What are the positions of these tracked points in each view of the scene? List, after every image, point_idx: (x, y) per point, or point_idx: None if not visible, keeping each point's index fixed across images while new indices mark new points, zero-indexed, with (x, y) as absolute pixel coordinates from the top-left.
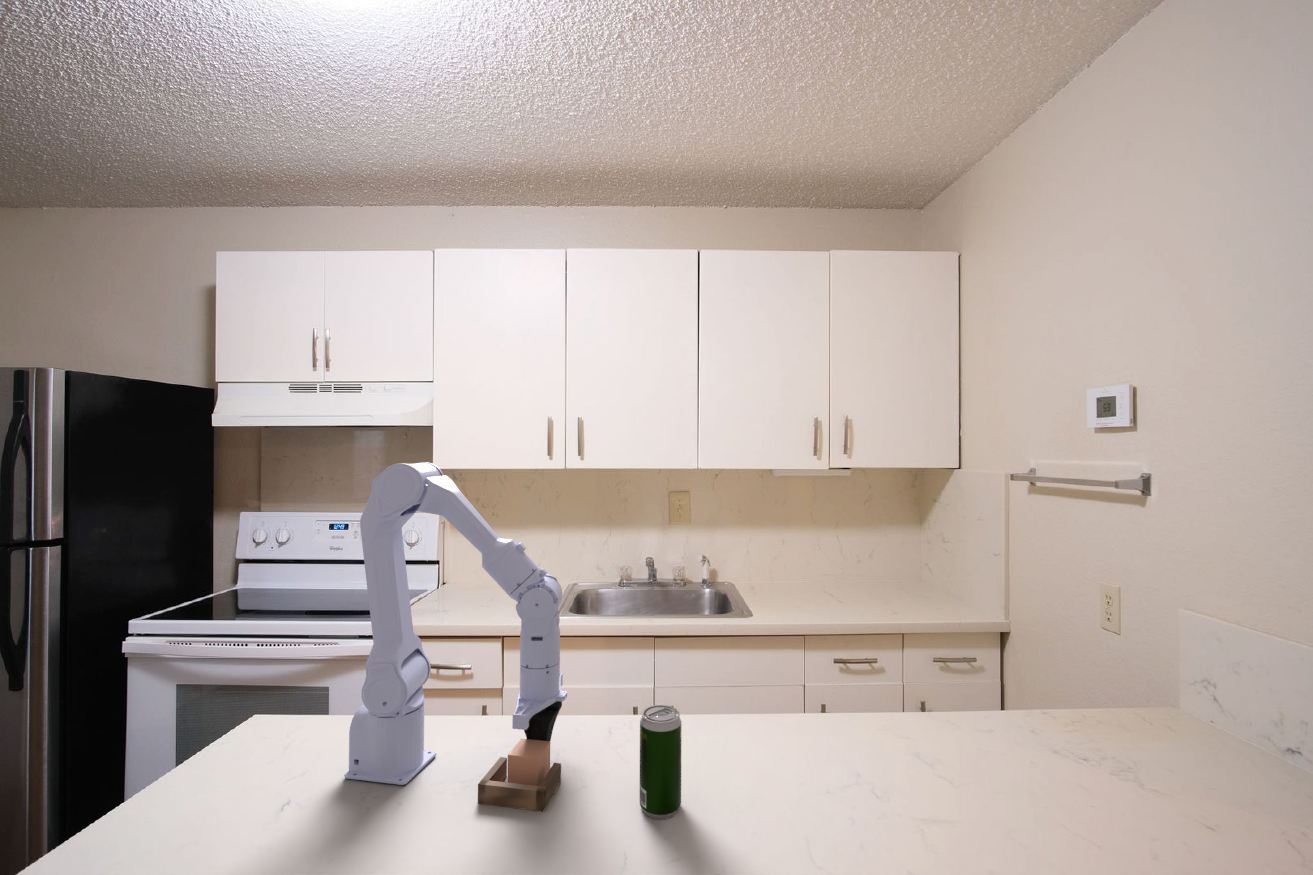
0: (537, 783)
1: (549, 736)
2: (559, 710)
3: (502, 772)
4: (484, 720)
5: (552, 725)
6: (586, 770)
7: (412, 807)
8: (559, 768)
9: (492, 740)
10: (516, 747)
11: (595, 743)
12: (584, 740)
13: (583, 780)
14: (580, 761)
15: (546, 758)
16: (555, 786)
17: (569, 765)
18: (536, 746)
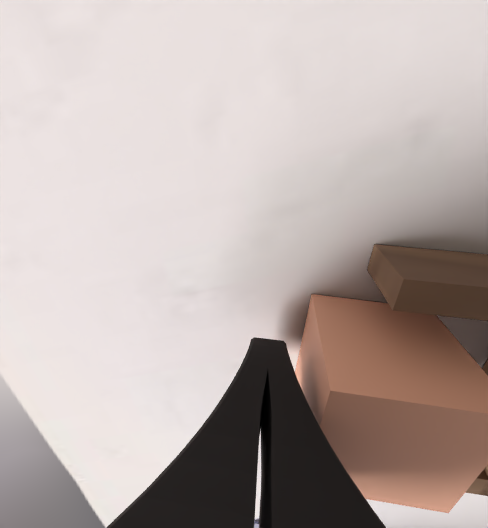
0: (444, 326)
1: (262, 395)
2: (140, 507)
3: None
4: (86, 475)
5: (243, 442)
6: (286, 154)
7: (451, 522)
8: (421, 275)
9: (164, 451)
10: (382, 493)
11: (71, 165)
12: (68, 218)
13: (369, 148)
14: (220, 199)
15: (368, 349)
16: (451, 257)
17: (255, 236)
18: (380, 435)
